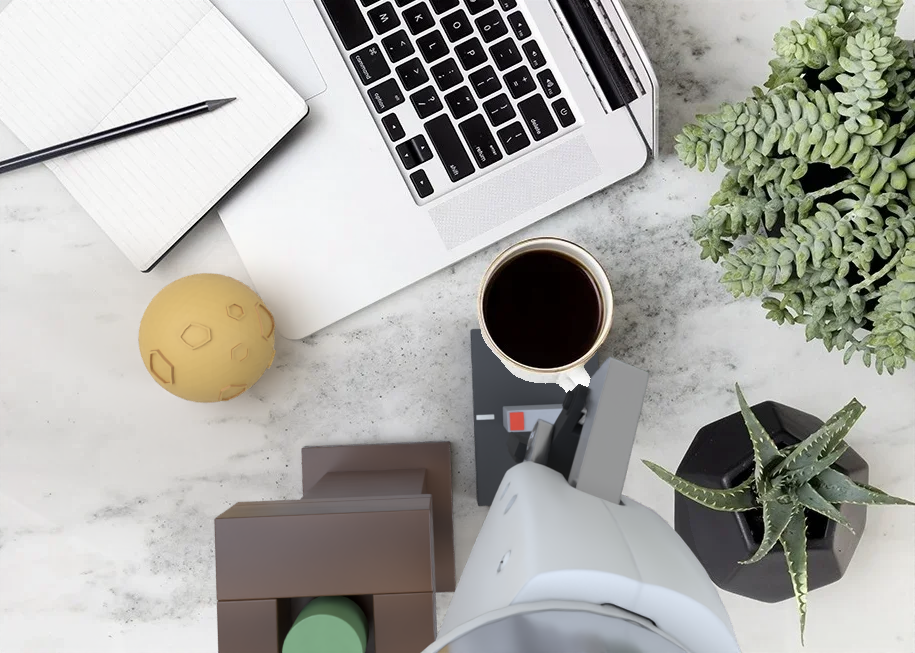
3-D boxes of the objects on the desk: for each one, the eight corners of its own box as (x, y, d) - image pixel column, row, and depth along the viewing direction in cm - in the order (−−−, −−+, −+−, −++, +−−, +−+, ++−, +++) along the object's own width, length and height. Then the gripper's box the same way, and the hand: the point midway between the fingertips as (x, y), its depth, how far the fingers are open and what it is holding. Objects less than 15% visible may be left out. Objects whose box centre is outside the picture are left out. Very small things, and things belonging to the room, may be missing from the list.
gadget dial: (571, 403, 62) (582, 407, 57) (572, 423, 62) (583, 429, 57) (502, 406, 62) (507, 410, 57) (503, 426, 62) (508, 432, 57)
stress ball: (144, 361, 64) (88, 363, 54) (204, 257, 64) (160, 240, 54) (249, 421, 64) (213, 434, 54) (309, 317, 64) (284, 310, 54)
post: (455, 587, 64) (460, 729, 40) (308, 594, 64) (224, 740, 40) (450, 440, 64) (451, 492, 40) (303, 446, 64) (217, 502, 40)
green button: (370, 668, 38) (364, 694, 35) (295, 671, 38) (282, 698, 35) (368, 592, 38) (361, 612, 35) (293, 595, 38) (280, 616, 35)
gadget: (598, 495, 64) (604, 501, 62) (476, 500, 64) (478, 506, 61) (590, 325, 65) (596, 324, 62) (470, 330, 65) (471, 329, 62)
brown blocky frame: (440, 730, 40) (440, 772, 36) (244, 739, 40) (221, 782, 36) (432, 493, 40) (430, 509, 36) (237, 501, 40) (213, 518, 36)
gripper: (591, 1453, 13) (509, 821, 30) (957, 450, 13) (670, 397, 30) (159, 1281, 13) (325, 748, 30) (546, 288, 13) (491, 326, 30)
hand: (500, 571), depth 30 cm, fingers open, 9 cm apart
